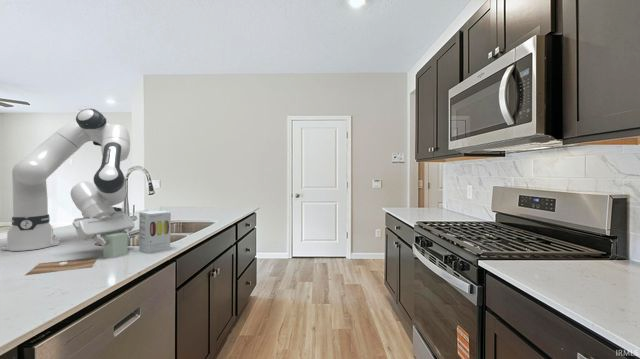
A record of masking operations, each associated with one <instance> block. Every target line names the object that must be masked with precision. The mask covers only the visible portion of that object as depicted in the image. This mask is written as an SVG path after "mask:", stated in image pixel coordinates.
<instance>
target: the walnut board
mask: <svg viewBox="0 0 640 359" xmlns="http://www.w3.org/2000/svg"><path fill="white" fill-rule="evenodd" d="M98 259H99V257H98V256H96V257H87V258H79V259H69V260H60V261H50V262H41V263H38V264H37V265H35V266H34V267H33V268H31V269H30V270H29V271H28V272H26V274H25V276H29V275H30V276H33V275H39V274H47V273H55V272H65V271H71V270H72V271H74V270H81V269H88V268H93V266H94V264H95V263H96V262H97V260H98ZM61 262H67V266H61V267H60V266H59V263H61Z"/></svg>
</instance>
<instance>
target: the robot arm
mask: <svg viewBox="0 0 640 359" xmlns="http://www.w3.org/2000/svg"><path fill="white" fill-rule="evenodd" d="M88 142H92V144H93V145H94V146H99V147H101V148H100V149H101V155H102V158H101V159H102V160H101V165H100V166H99V168H98V169H97V171H96V172H95V174H94V176H93V182H89V181H81V182H78V183H76V184H75V185H74V186H72V188H71V189H70V198H71V200H72V202H73V203H74V205H75V206H76V208H77V210H79V211H80V212H81V215H82V217H80V218H79V217H78V218H75V219H74V220H72V225H73V227H74V228H75V230H76V233H77V236H78V237H79V239H80V240H82V241H87V240H93V241H95V242H97V243H98V244H100V246H101V247H103V246H105V245H107V244H108V241H107V239H103V235H108V234H113V233H127V239H128V241H129V240H130V239H131V237H130V234H129V232H132V230H133V229H134V228H135V222H134V221H133V219H132V218H131V217H130V216H129V214H127V213H126V212H125V209H124V208H122V207H117V206H116V205H119V204H121V203H123V201H124V200H125V199H126V198H127V190H126V183H125V175H124V173H123V171H122V170H121V162H123V161H125V160H127V159H128V157H129V154H130V149H131V139H130V133H129V131H128V129H127V128H126V127H125V125H122V124H118V123H112V122H110V121H109V120H108V119H107V118H106V117H105V116H104V115H103V113H102V112H100V111H99V110H97V109H95V108H85V109H83V110H81V111H79V112H78V113H77V115H76V117H75V121H71V122H69V123H67V124H65V125H64V126H63V127H61V128H59V129H58V130H56V131H55V132H54V133H53V134H52V135H50V136H49V137H48V138H47V139H45V140H44V141H43V142H42V143H40V144H39V145H38V146H37V147H36V148H34V149H33V150H32V151H31V152H30V153H29V154H27V155H26V156H25V157H23V158H22V159H21V160H20V161H19V162H18V163H16V164H15V165H14V166H13V167H12V171H11V173H12V176H11V177H12V212H13V213H12V215H13V216H12V217H11V225H12V226H11V227H10V228H9V229H8V230H7V233H6V245H5V246H2V247H1V251H9V252H10V251H11V252H19V251H20V252H23V251H32V250H38V249H39V250H40V249H44V248H49V247H53V246H59V245H60V238H59V237H56V234H54V228H53V226H52V225H51V224H50V221H51V220H50V219H51V218H50V214H48V213H49V212H48V210H49V208H48V206H49V205H48V188H47V187H48V186H47V179H48V178H49V177H50V176H52V174H54V173H55V171H57V169H59V167H61V166H62V165H63V164H64V163H65V161H67V160H68V159H70V158H71V156H73V154H75V153H76V152H77V151H79V149H81V147H82V146H83V145H85V144H86V143H88Z"/></svg>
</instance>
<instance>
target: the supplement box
mask: <svg viewBox="0 0 640 359" xmlns="http://www.w3.org/2000/svg"><path fill="white" fill-rule="evenodd" d="M138 215H139V217H138V218H139V219H138V220H139V221H138V222H139V223H138V224H139V225H138V226H139V230H138V234H139V235H138V238H139V240H138V242H139V244H138V251H139V252H142V253H145V254H147V255H149V254H155V253H160V252H165V251H170V250H171V229H172V228H171V227H172V226H171V224H172V223H171V211H166V210H149V211H140V212H139V214H138Z"/></svg>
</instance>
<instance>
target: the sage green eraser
mask: <svg viewBox="0 0 640 359" xmlns="http://www.w3.org/2000/svg"><path fill="white" fill-rule="evenodd" d="M102 238H103V239H107V241H108V244H107V245H105V246H102V247H103V248H102V249H103V251H102V252H103V254H102V255H103V256H102V257H103V258H111V259H115V258H118V257H123V256H124V255H125V256H126V255H128V253H129V252H128V251H129V249H128V245H129V244H128V243H129V242H128V241H129V240H128V239H127V233H113V234H108V235H103V237H102Z"/></svg>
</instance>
